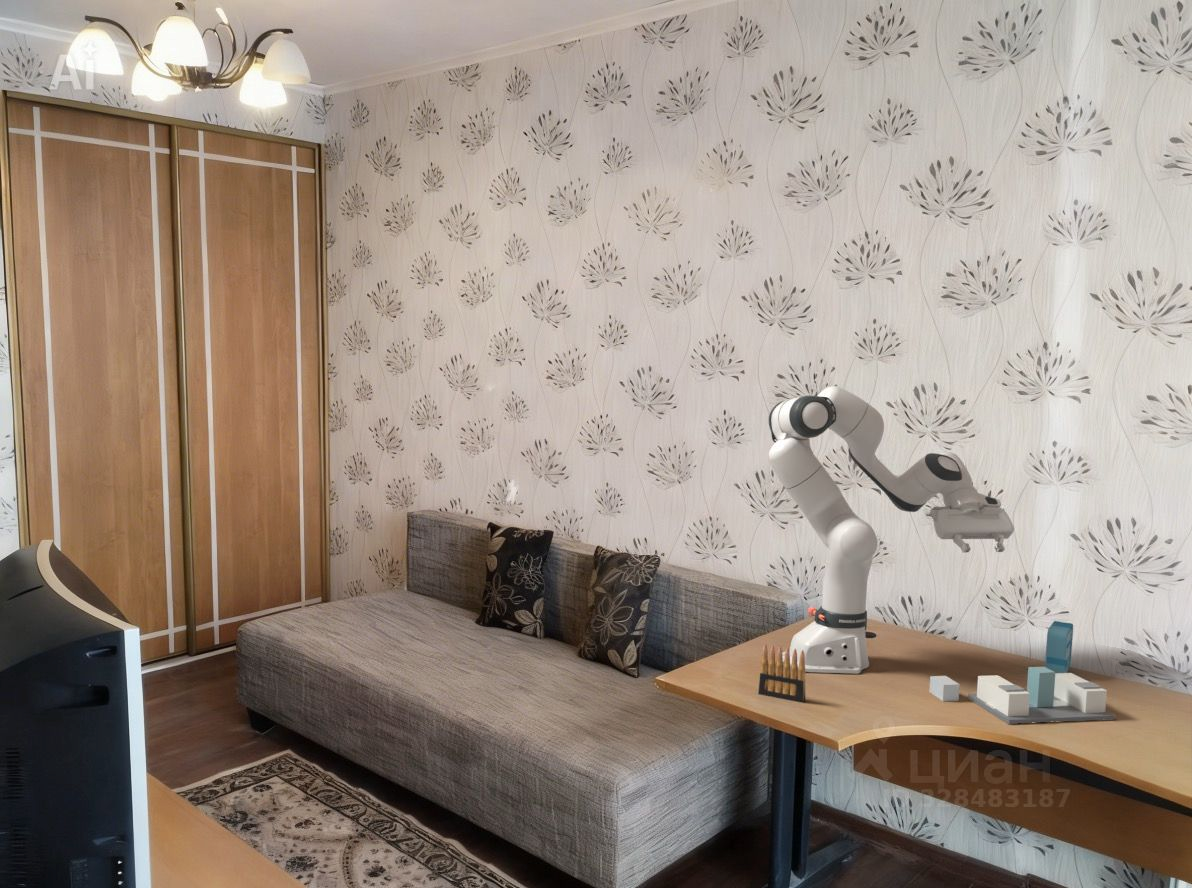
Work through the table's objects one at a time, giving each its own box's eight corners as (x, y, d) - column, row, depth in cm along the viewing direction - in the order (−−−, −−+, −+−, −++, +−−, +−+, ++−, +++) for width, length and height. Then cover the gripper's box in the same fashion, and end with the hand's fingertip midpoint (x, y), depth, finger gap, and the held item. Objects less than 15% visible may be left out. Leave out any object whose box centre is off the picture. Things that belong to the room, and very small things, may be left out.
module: (1037, 707, 209) (1039, 672, 209) (1026, 701, 213) (1028, 667, 213) (1053, 706, 210) (1055, 672, 209) (1041, 700, 214) (1044, 666, 213)
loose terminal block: (942, 701, 215) (943, 685, 215) (929, 692, 221) (930, 676, 221) (958, 701, 216) (959, 684, 215) (944, 692, 222) (945, 675, 221)
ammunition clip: (805, 700, 213) (807, 649, 212) (803, 702, 212) (805, 651, 211) (760, 691, 218) (762, 642, 217) (758, 694, 217) (760, 644, 216)
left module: (1007, 716, 204) (1009, 692, 203) (976, 696, 215) (978, 674, 215) (1028, 715, 205) (1030, 691, 204) (996, 696, 216) (997, 673, 216)
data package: (1063, 679, 233) (1067, 632, 232) (1044, 675, 235) (1047, 629, 234) (1070, 667, 243) (1073, 622, 242) (1051, 663, 245) (1054, 619, 244)
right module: (1085, 713, 207) (1086, 689, 206) (1050, 694, 219) (1052, 671, 218) (1105, 712, 208) (1106, 688, 207) (1069, 693, 219) (1071, 671, 219)
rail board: (1008, 724, 202) (1009, 719, 202) (967, 698, 217) (968, 693, 217) (1115, 719, 206) (1115, 714, 206) (1067, 694, 222) (1067, 689, 222)
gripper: (932, 499, 239) (951, 544, 230) (1005, 499, 242) (1026, 543, 233) (923, 513, 243) (940, 558, 235) (994, 513, 247) (1014, 557, 238)
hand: (984, 551), depth 234 cm, fingers open, 8 cm apart
